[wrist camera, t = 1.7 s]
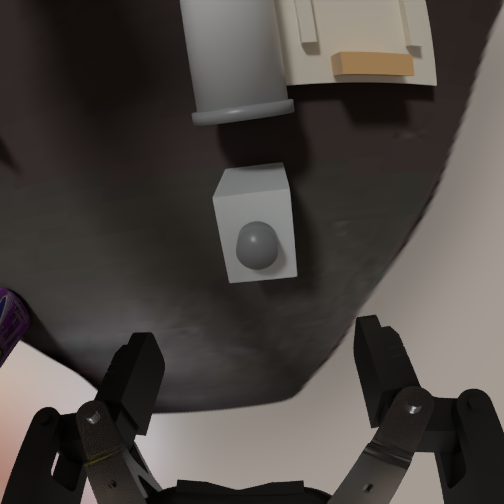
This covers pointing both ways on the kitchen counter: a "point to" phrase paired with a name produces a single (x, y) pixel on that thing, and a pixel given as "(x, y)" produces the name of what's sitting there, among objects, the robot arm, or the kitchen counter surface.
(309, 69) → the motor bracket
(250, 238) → the grey box with knob
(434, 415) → the robot arm
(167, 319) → the kitchen counter surface
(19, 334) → the beverage can
